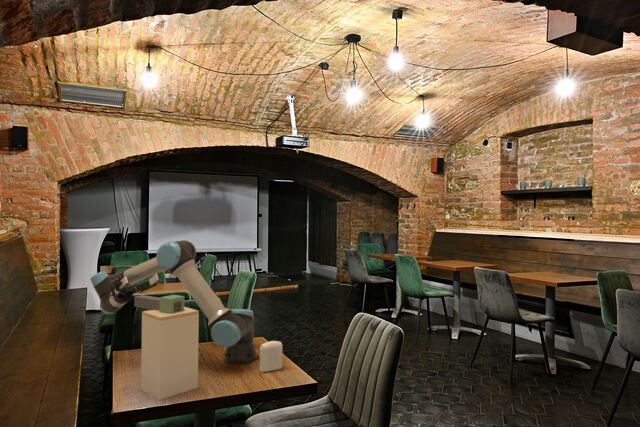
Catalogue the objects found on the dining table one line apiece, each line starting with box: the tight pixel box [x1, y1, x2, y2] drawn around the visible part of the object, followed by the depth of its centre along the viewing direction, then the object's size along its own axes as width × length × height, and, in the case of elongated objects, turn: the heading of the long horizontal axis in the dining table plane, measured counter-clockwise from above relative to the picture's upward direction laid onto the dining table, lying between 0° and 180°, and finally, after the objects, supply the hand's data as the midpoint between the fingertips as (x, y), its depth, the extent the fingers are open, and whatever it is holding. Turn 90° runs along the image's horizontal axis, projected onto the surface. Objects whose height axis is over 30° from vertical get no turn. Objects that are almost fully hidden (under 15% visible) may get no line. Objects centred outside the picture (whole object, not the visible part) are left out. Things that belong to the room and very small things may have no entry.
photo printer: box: [259, 340, 283, 373], centre depth 194 cm, size 10×4×12 cm, turn 123°
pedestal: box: [140, 306, 200, 401], centre depth 172 cm, size 14×16×30 cm
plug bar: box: [133, 294, 186, 314], centre depth 176 cm, size 22×7×6 cm, turn 61°
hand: (142, 278), depth 189 cm, fingers open, 13 cm apart
